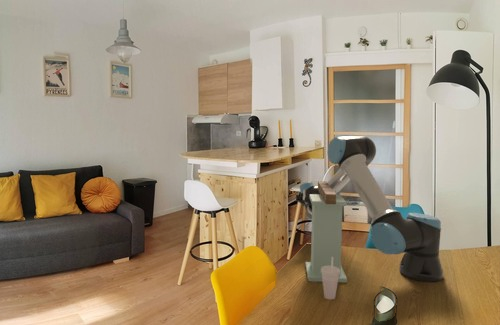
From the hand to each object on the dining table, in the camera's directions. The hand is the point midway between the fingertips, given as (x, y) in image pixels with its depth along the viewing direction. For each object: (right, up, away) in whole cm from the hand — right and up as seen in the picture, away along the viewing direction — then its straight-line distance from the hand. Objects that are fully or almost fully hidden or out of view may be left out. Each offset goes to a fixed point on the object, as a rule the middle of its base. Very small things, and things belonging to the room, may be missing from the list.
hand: (320, 192), depth 148 cm
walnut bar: (-1, 0, -16) cm, 16 cm away
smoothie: (-4, -32, -33) cm, 46 cm away
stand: (-1, -30, -15) cm, 34 cm away
